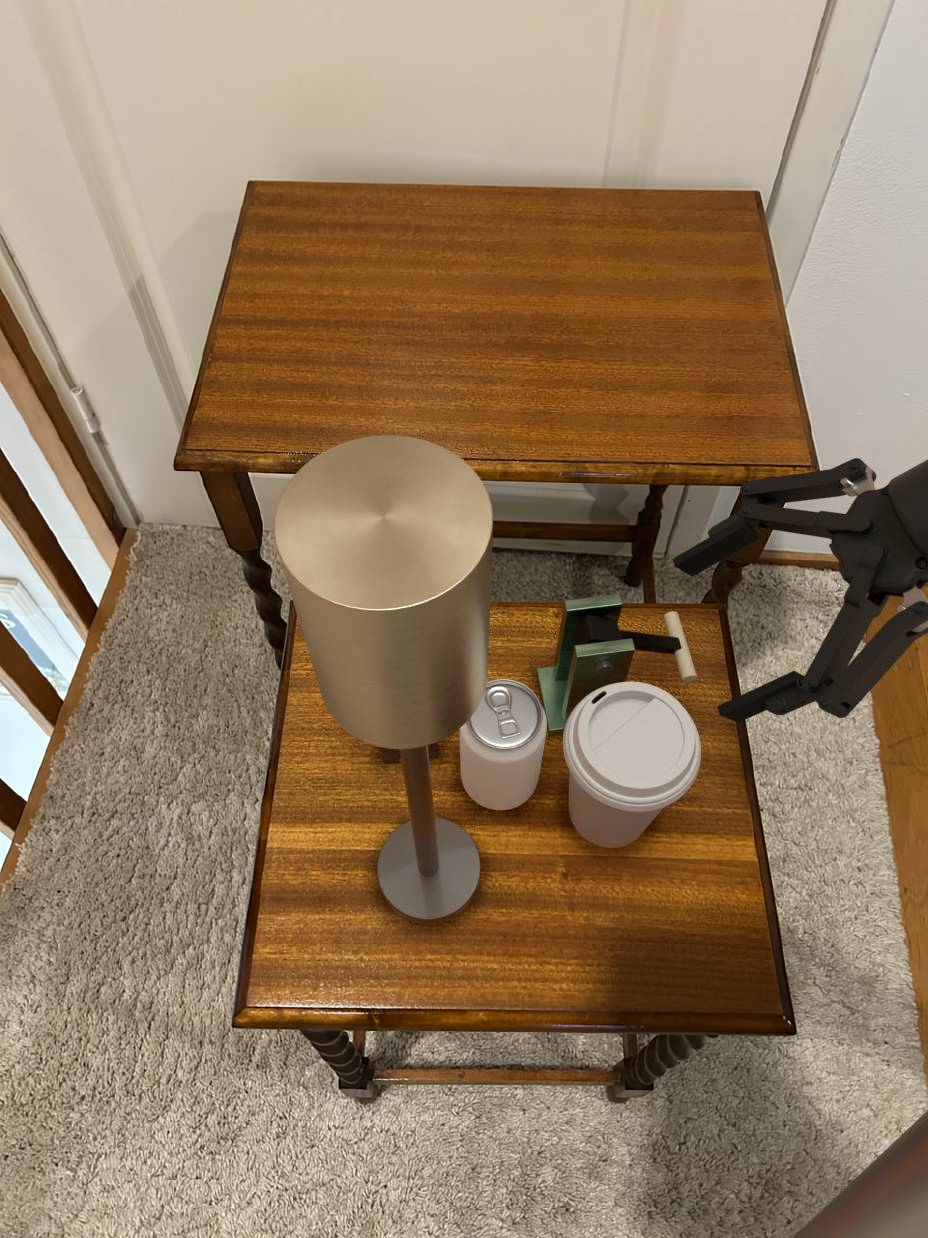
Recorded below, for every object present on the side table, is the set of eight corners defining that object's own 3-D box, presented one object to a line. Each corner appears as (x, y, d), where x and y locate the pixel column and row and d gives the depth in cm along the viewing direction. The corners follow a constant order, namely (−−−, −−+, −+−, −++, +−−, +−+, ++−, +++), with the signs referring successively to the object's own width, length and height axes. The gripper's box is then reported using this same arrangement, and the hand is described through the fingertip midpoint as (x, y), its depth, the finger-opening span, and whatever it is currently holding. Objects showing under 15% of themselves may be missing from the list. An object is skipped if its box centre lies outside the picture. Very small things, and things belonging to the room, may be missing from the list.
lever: (668, 623, 78) (684, 607, 76) (686, 687, 75) (704, 672, 73) (565, 609, 74) (580, 593, 72) (580, 676, 71) (597, 661, 69)
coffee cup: (638, 740, 79) (670, 654, 66) (687, 845, 74) (732, 775, 62) (532, 774, 78) (544, 693, 65) (575, 883, 73) (598, 819, 60)
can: (524, 730, 80) (532, 663, 69) (549, 800, 76) (561, 741, 66) (451, 750, 79) (448, 685, 69) (473, 821, 76) (473, 765, 65)
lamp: (501, 882, 73) (538, 532, 34) (419, 948, 71) (355, 652, 31) (439, 805, 76) (407, 403, 37) (358, 865, 74) (231, 502, 34)
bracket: (613, 664, 83) (635, 585, 72) (628, 725, 80) (654, 653, 69) (535, 674, 82) (546, 596, 72) (548, 736, 79) (561, 665, 68)
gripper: (1071, 677, 59) (774, 792, 71) (919, 389, 72) (689, 529, 83) (1035, 645, 54) (722, 775, 66) (879, 343, 67) (640, 498, 79)
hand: (703, 638), depth 75 cm, fingers open, 13 cm apart
